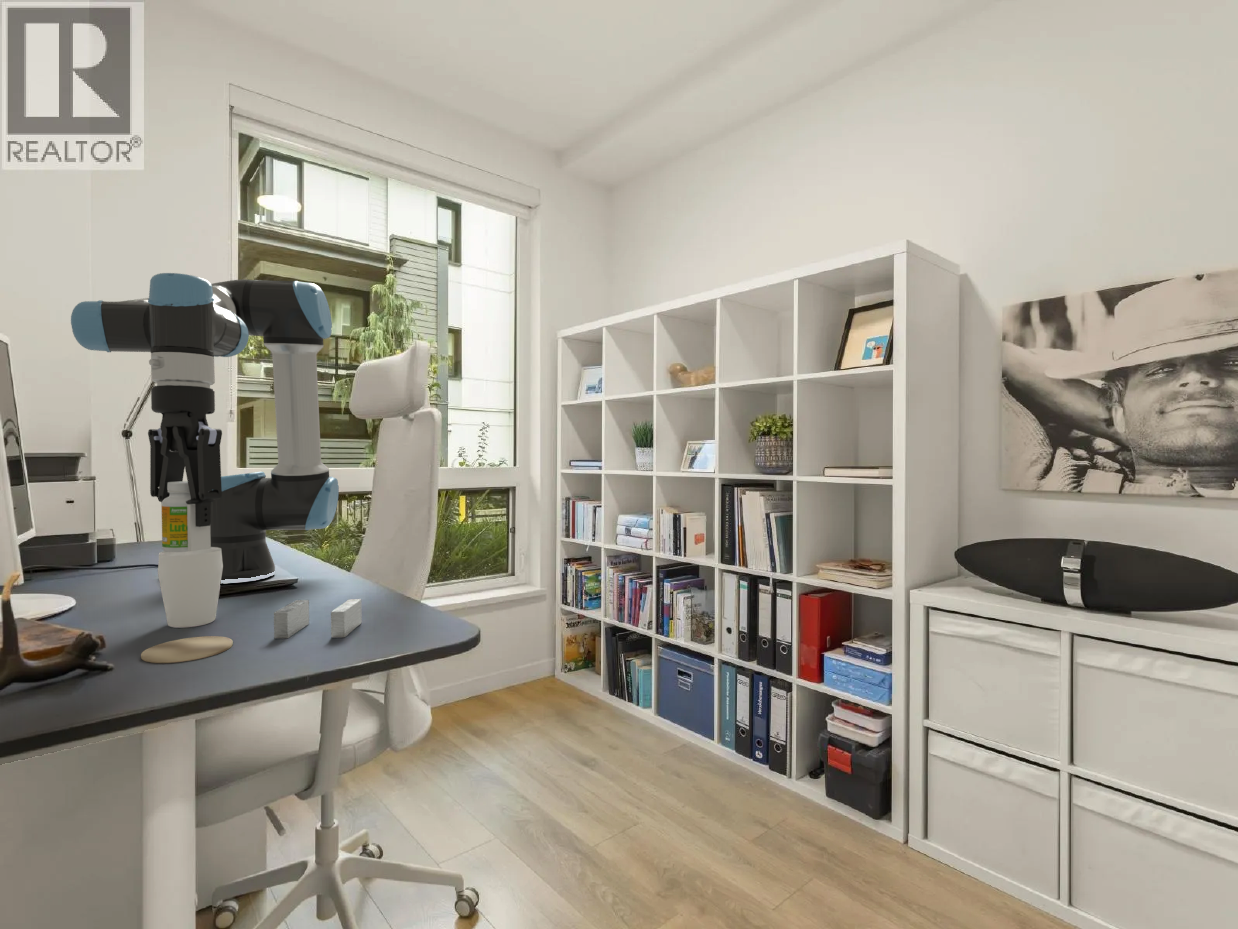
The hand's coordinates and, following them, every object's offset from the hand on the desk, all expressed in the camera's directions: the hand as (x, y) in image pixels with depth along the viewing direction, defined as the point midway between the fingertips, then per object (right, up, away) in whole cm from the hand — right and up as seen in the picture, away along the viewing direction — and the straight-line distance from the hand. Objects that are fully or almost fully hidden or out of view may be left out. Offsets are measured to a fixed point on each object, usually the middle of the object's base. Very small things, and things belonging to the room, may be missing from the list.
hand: (186, 547), depth 93 cm
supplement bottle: (0, -1, 0) cm, 1 cm away
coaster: (0, -15, +1) cm, 15 cm away
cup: (-9, -15, +15) cm, 23 cm away
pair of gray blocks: (+14, -15, +11) cm, 23 cm away
